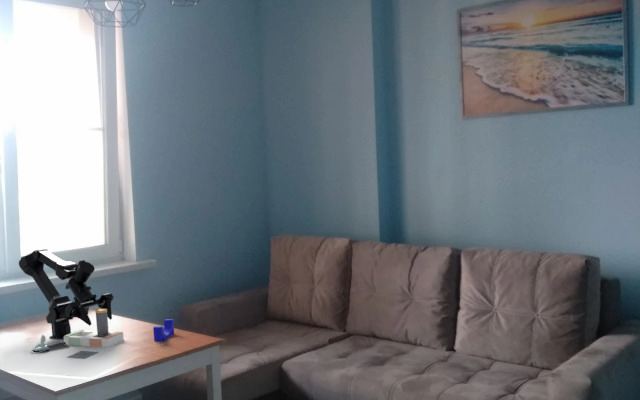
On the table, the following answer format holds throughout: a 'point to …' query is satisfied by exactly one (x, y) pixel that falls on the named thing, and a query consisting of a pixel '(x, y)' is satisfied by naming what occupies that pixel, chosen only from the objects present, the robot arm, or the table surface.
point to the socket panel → (93, 338)
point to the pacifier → (41, 345)
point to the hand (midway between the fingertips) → (101, 321)
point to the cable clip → (164, 330)
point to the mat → (82, 354)
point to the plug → (102, 322)
